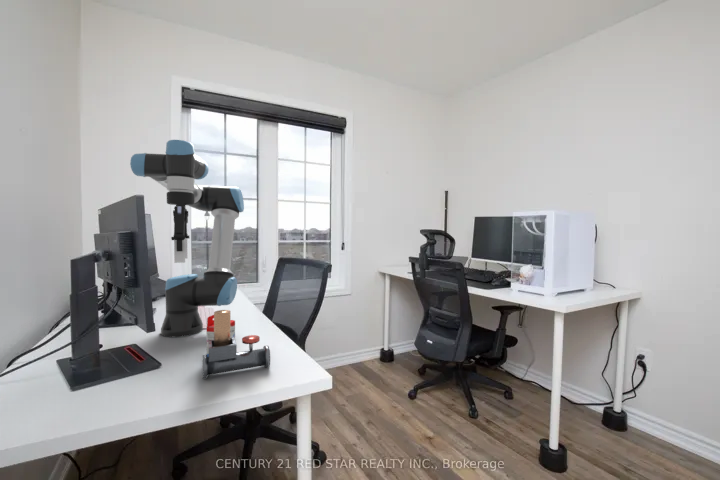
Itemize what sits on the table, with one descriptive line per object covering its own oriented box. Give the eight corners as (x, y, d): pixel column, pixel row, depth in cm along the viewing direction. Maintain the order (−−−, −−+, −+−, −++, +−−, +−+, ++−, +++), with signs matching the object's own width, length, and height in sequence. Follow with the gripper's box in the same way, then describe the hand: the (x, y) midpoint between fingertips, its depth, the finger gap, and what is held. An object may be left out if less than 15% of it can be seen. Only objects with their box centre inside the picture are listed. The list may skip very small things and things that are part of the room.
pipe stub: (213, 351, 95) (213, 310, 94) (229, 348, 96) (229, 309, 96) (214, 356, 91) (214, 314, 90) (230, 353, 93) (231, 312, 92)
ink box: (220, 364, 101) (219, 318, 100) (206, 363, 102) (205, 317, 101) (235, 354, 109) (235, 311, 108) (222, 352, 110) (222, 310, 109)
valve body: (202, 383, 88) (202, 348, 88) (202, 372, 95) (202, 340, 94) (270, 371, 96) (270, 339, 96) (266, 361, 103) (266, 332, 102)
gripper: (170, 194, 108) (171, 257, 109) (161, 186, 86) (162, 265, 87) (195, 196, 112) (196, 256, 112) (193, 188, 89) (193, 264, 90)
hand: (181, 260), depth 100 cm, fingers open, 13 cm apart
